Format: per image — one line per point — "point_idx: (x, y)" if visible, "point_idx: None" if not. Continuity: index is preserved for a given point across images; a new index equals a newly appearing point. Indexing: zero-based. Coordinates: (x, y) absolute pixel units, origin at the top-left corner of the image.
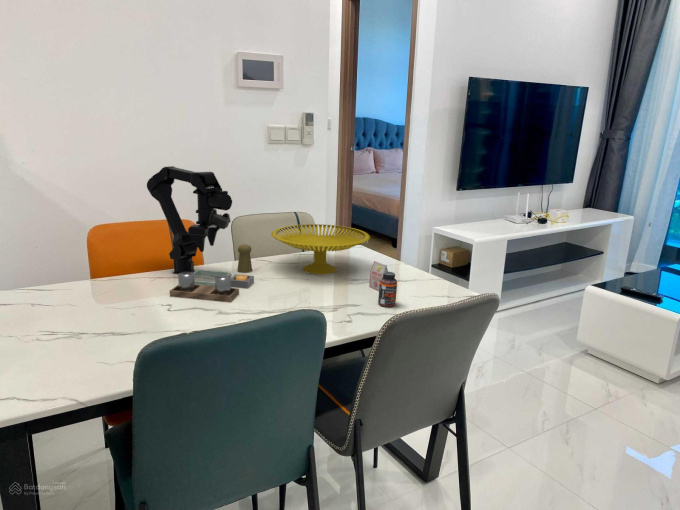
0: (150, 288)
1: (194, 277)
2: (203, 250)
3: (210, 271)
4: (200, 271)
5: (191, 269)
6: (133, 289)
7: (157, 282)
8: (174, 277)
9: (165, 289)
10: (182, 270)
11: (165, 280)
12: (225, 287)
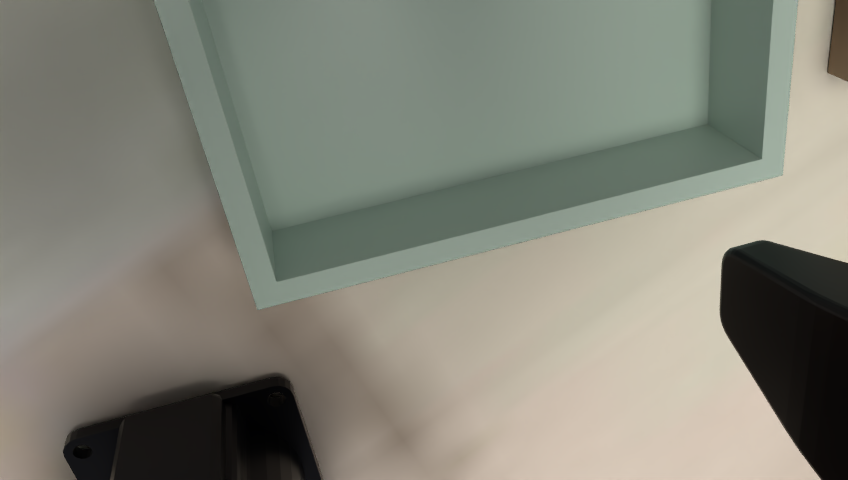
0: None
1: (423, 208)
2: (779, 251)
3: (215, 84)
4: (268, 245)
5: (201, 425)
6: None
7: (615, 449)
8: (405, 441)
9: None
10: (294, 477)
11: (533, 438)
12: None
